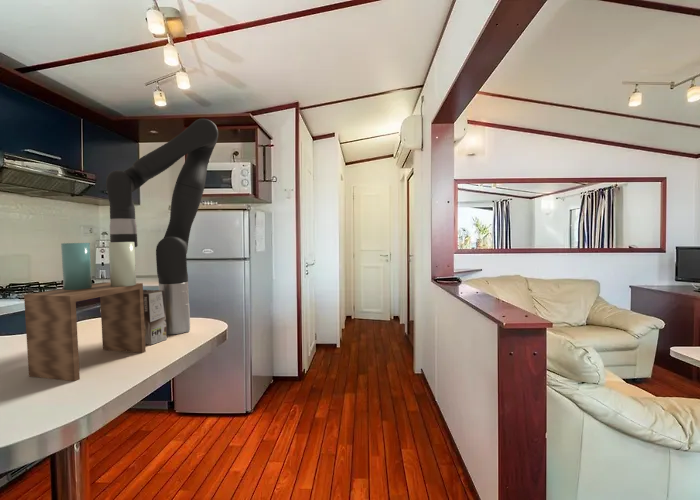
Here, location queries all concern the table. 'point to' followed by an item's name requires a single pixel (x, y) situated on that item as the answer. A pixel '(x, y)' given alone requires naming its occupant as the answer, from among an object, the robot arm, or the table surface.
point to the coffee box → (154, 316)
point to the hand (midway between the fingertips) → (126, 282)
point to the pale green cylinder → (122, 264)
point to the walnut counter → (61, 326)
